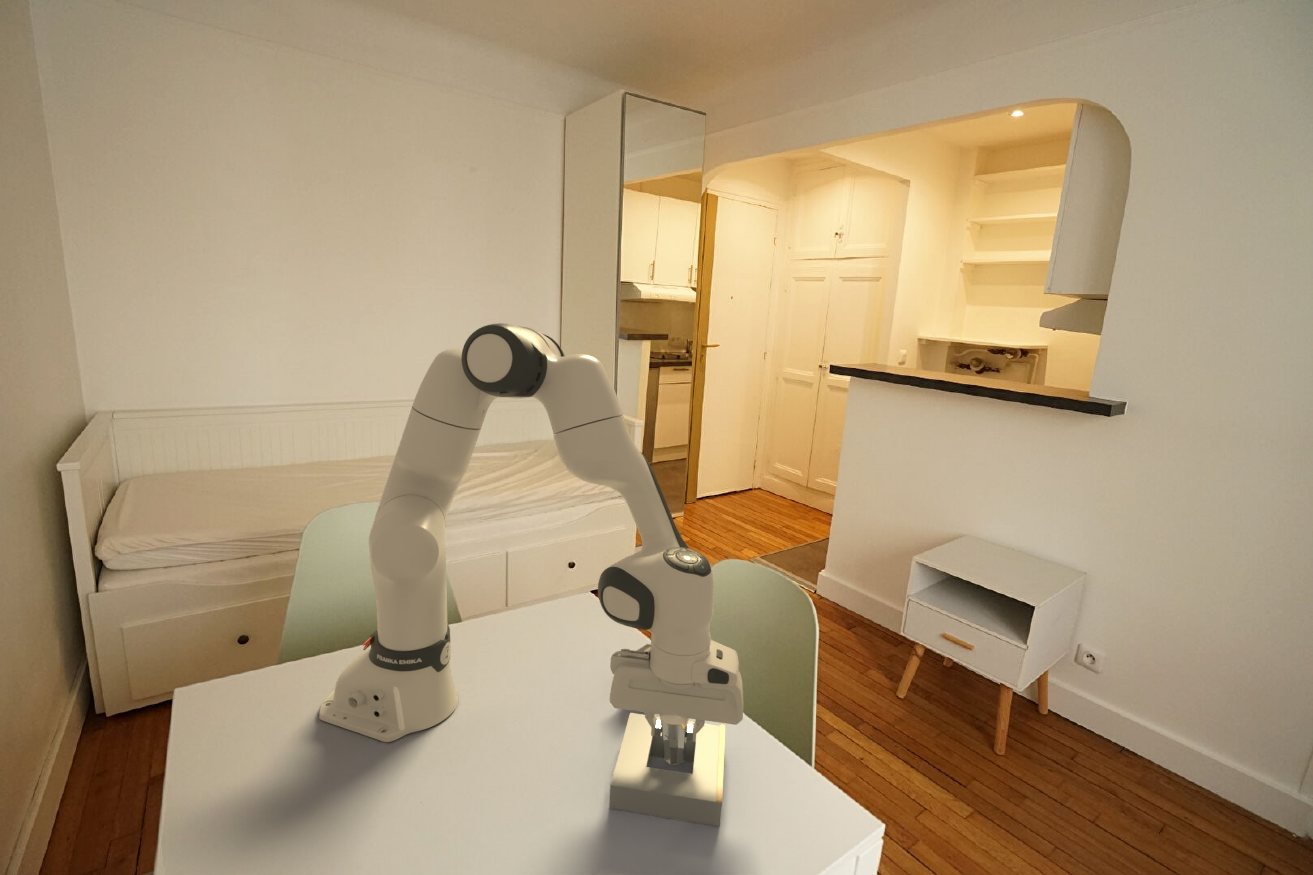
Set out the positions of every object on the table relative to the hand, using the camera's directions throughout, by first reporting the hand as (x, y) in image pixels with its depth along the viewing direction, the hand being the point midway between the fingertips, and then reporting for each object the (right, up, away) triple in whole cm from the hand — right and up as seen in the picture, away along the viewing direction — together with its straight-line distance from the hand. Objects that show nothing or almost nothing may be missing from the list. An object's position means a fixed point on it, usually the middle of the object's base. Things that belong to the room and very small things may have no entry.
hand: (673, 736), depth 94 cm
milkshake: (0, -4, +1) cm, 4 cm away
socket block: (-1, -7, +1) cm, 7 cm away
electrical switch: (-5, -2, +21) cm, 21 cm away
